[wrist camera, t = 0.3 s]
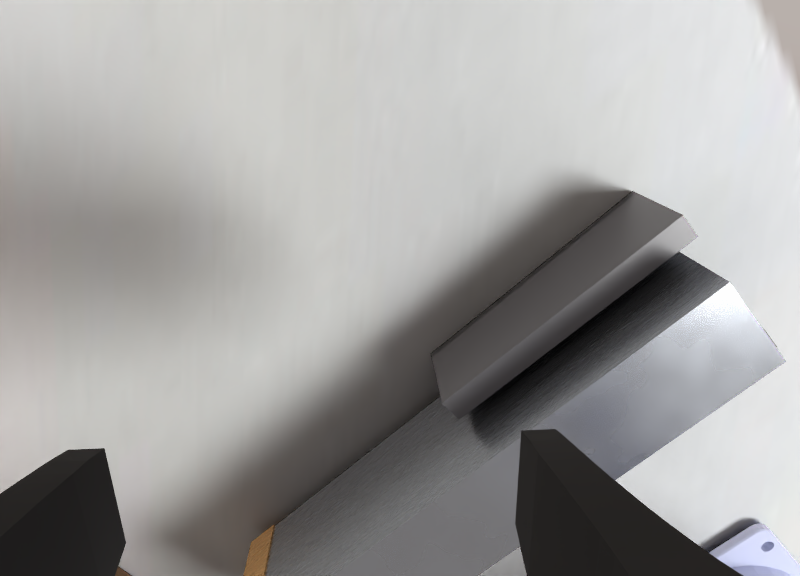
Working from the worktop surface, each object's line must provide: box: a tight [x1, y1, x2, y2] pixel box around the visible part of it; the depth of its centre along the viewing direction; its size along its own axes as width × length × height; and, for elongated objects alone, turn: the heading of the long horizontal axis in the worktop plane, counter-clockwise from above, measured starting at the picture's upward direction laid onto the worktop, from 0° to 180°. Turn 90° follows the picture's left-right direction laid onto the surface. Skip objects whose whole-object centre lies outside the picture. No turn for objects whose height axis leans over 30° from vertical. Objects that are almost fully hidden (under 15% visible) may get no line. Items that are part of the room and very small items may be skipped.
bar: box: [243, 252, 786, 576], centre depth 19 cm, size 3×18×5 cm, turn 131°
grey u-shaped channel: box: [431, 191, 777, 420], centre depth 19 cm, size 5×8×3 cm, turn 131°
